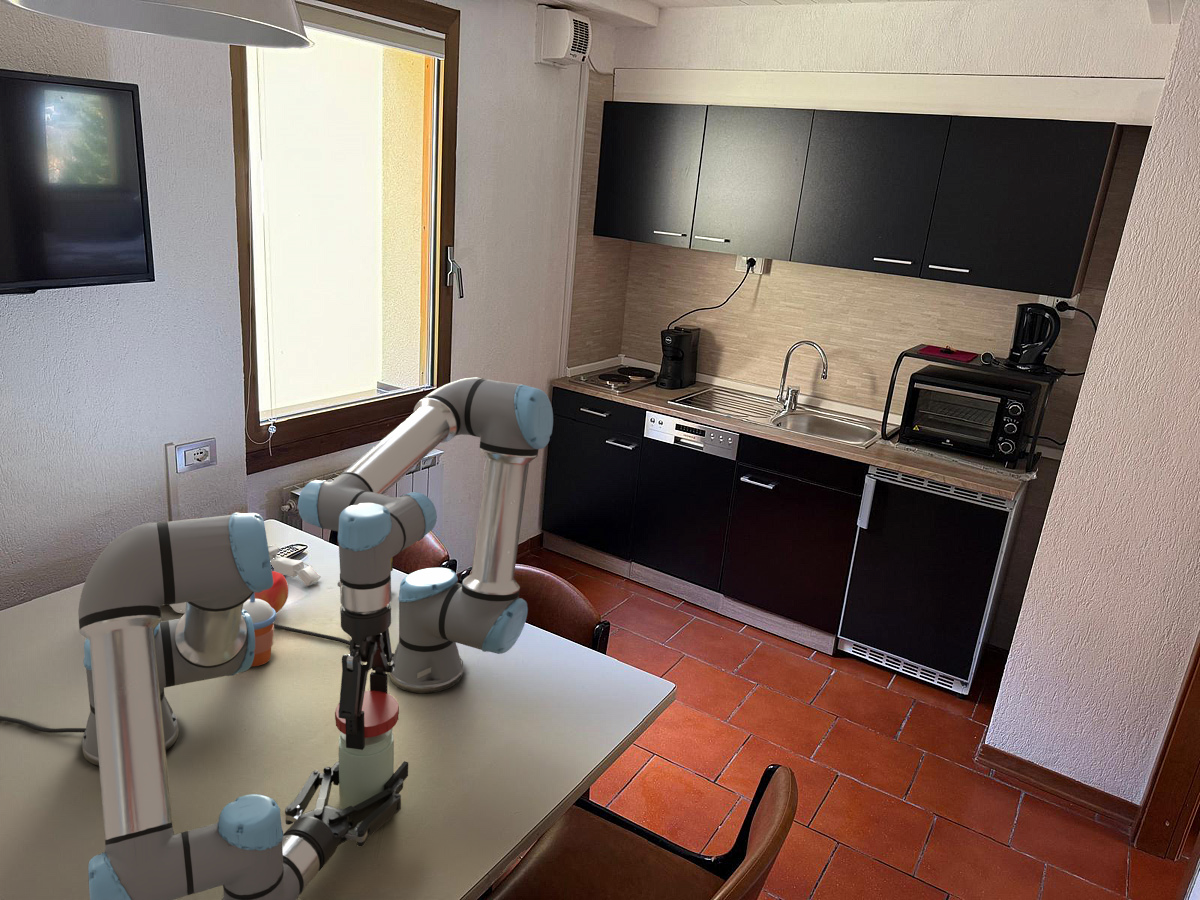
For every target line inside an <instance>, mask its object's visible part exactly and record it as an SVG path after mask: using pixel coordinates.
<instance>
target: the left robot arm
mask: <svg viewBox="0 0 1200 900" xmlns="http://www.w3.org/2000/svg"><path fill="white" fill-rule="evenodd" d="M268 546H269V544H268V537H267V531H266V526H265V520H264V518H263V517H262V515H261V514H259V513H256V512H246V513H243V512H242V513H241V512H233V513H232V514H228V515H227V514H226V515H218V516H208V517H199V518H198V517H197V518H189V519H179V520H171V521H160V522H147V523H142V524H140V525H136V526H134V527H131V528H130V529H128V530H126V531H124V532H122V533H121V534H119V535H118V536H117V537H115V538H114V539H113V540H112V541H111V542H109V544H108V545H107V546H106V547H105V548H104V549H103V551H102V552H101V553H100V554H99V556H98V557H97V558H96V560H95V561H94V563H93V564H92V567H91V569H90V570H89V572H88V574H87V577H86V579H85V581H84V584H83V586H82V590H81V593H80V598H79V603H78V613H77V614H78V615H77V616H78V626H79V627H78V629H79V634H80V636H82V637H84V638H85V640H84V645H83V652H84V653H83V654H84V658H83V667H84V668H85V671H86V681H87V683H86V684H87V692H88V701H89V715H88V719H87V721H86V726H85V727H61V728H54V727H53V728H50V727H44V726H41V725H37V724H35V723H32V722H29V721H26V720H23V719H20V718H14V717H10V716H9V717H8V716H3V715H0V721H1V722H7V723H12V724H18V725H21V726H24V727H25V728H29V729H31V730H35V731H39V732H42V733H48V734H59V733H63V734H64V733H83V735H82V738H81V739H82V740H81V747H82V755H83V756H84V759H85V760H86V761H88V763H90V764H92V765H94V766H98V768H99V782H100V790H101V791H100V792H101V793H100V794H101V806H102V819H103V829H104V830H103V831H104V846H105V847H104V852H103V851H102V852H101V853H100V854H96V855H94V856H93V857H91V859H90V860H89V862H88V866H87V867H88V868H87V869H88V870H87V871H88V873H87V874H88V890H89V891H88V892H89V893H88V894H89V900H176V899H180V898H183V897H186V896H190V895H195V894H198V893H201V892H205V891H208V890H211V889H214V888H218V887H221V886H222V888H223V889H222V890H223V891H222V892H223V896H222V899H221V900H297V899H298V898H299V896H300V895H301V894H302V893H303V891H304V890H305V889H306V888H307V886H309V884H310V883H311V881H312V880H313V879H314V878H315V877H316V876H317V874H318V873H319V872H320V871H321V870H322V869H323V868H324V866H325V865H326V864H327V863H329V860H330V859H331V858H332V857H333V856H334V854H335V853H336V851H337V849H338V848H339V846H340V845H342V844H343V843H345V842H347V841H354V842H356V846H357V847H360V848H361V847H363V846H365V844H366V843H367V841H368V839H369V838H370V837H371V836H372V835H373V834H374V833H376V831H377V830H379V829H380V828H381V827H382V826H383V825H385V824H386V823H387V822H388V821H390V819H392V818H393V817H394V816H395V815H396V814H397V813H398V812H399V811H401V809H402V796H401V794H400V793H401V792H402V790H403V789H404V781H406V779H407V778H408V777H409V761H405V760H404V761H403V762H402V763H401V764H400V766H399V767H398V768H397V769H396V770H395V771H394V774H393V775H392V776H391V778H390V779H389V780H388V781H387V782H386V784H385V785H384V791H382V792H380V793H378V794H376V795H374V796H373V797H371V798H369V799H367V800H365V801H363V802H361V803H359V804H357V805H356V806H354V807H353V806H349V807H347V808H345V809H340V808H335V807H334V806H332V805H329V800H330V795H331V791H332V787H333V785H334V786H339V760H338V761H336V762H335V763H334V764H333V765H332V766H326V767H324V768H323V772H320V770H318V769H316V770H313V771H312V772H311V773H310V775H309V776H308V778H307V780H306V781H305V783H304V784H303V786H302V787H301V789H300V791H299V793H298V794H297V795H296V797H295V798H294V800H293V801H292V802H290V804H289V805H287V806H286V807H285V809H284V818H285V824H286V825H291V826H290V827H289V828H287V830H286V831H285V832H284V830H283V825H282V817H281V808H280V806H279V804H278V803H277V802H276V800H275V799H273V798H272V797H270V796H267V795H265V794H259V793H251V794H250V793H249V794H245V795H241V796H238V797H236V799H235V800H234V801H232V802H228V803H227V804H225V806H224V807H223V808H222V810H221V811H220V813H219V817H218V821H217V822H216V823H215V822H214V823H211V824H208V825H204V826H200V827H197V828H193V829H189V830H185V831H181V832H179V833H175V832H174V827H173V814H172V804H171V803H172V801H171V793H170V784H169V772H168V762H167V751H168V750H169V749H170V748H171V747H173V745H174V744H175V743H176V741H177V739H178V738H179V734H180V729H179V721H178V718H177V715H176V714H175V712H174V710H173V708H172V707H171V704H170V703H169V701H168V699H167V697H166V696H165V688H170V687H175V686H179V685H184V684H191V683H196V682H201V681H206V680H211V679H216V678H221V677H222V678H223V677H232V676H235V675H237V674H241V673H244V672H246V671H248V670H249V669H250V668H251V667H252V666H251V665H252V663H253V660H254V650H255V633H254V627H253V622H252V619H251V616H250V614H248V612H247V611H246V610H244V609H243V604H244V603H245V602H246V601H247V600H248V599H249V598H250V597H251V596H252V594H253V593H254V592H255V593H256V592H257V593H259V592H262V591H263V590H267V589H270V588H271V587H272V586H273V575H272V569H271V562H270V556H269V549H268ZM184 602H186V613H185V614H184V613H183V615H182V616H181V617H180V618H175V619H169V620H164V621H163V620H162V613H161V606H170V604H178V603H184ZM319 788H320V789H319ZM318 789H319V792H318V797H317V799H316V803H315V807H314V808H313V809H312V810H309V811H306V809H307V807H308V806H309V804H310V802H311V801H312V799H313V798H314V796H315V794H316V792H317V791H318ZM305 811H306V812H305ZM361 821H362V823H361V824H358V823H360V822H361ZM355 827H356V828H355Z"/></svg>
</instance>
